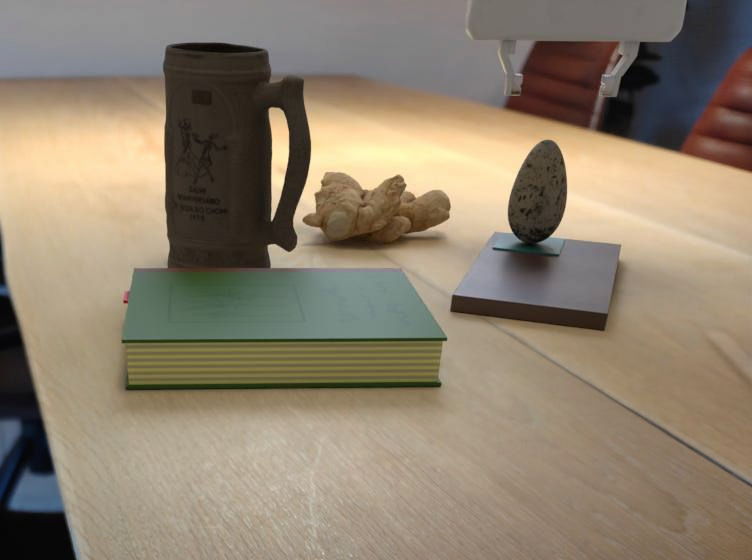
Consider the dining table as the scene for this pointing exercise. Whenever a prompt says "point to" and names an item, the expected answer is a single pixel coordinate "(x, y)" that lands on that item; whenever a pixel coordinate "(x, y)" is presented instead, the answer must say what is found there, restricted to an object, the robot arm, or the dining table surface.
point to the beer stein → (228, 156)
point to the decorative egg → (538, 194)
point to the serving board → (541, 281)
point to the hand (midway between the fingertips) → (559, 95)
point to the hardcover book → (278, 329)
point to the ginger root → (374, 209)
